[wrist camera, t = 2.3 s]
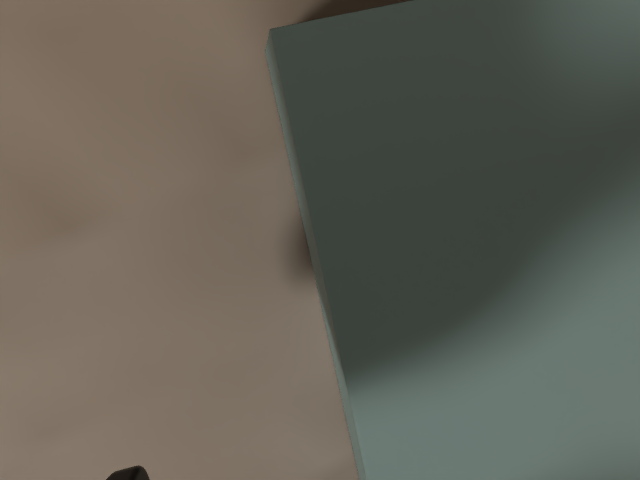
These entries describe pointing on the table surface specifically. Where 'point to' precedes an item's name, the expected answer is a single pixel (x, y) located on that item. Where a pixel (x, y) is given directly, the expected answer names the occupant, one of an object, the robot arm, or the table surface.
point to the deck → (474, 230)
